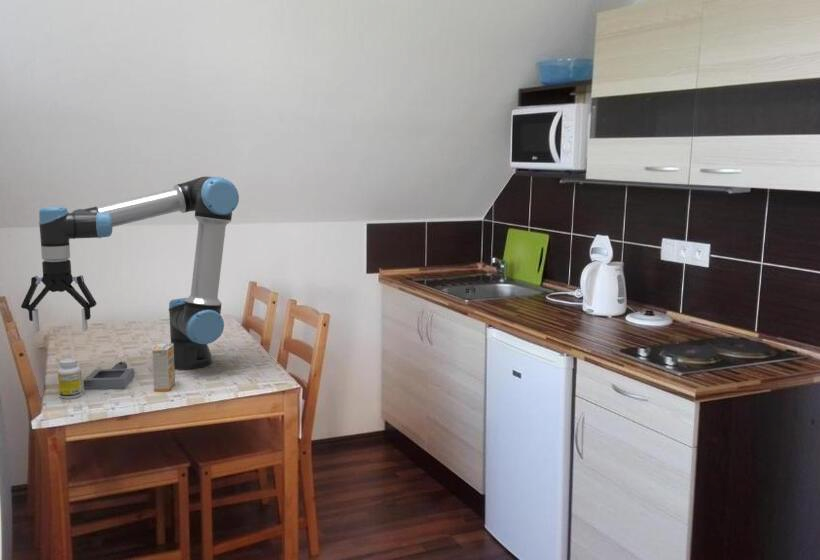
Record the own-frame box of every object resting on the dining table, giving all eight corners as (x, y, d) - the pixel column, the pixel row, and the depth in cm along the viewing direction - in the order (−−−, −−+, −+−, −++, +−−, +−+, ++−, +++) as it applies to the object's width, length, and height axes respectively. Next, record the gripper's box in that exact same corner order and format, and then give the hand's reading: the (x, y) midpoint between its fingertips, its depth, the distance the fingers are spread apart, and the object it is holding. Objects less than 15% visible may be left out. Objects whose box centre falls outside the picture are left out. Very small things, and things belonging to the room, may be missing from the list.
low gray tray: (125, 389, 230) (124, 379, 229) (84, 391, 228) (83, 380, 228) (141, 370, 251) (140, 360, 251) (103, 371, 250) (103, 361, 249)
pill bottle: (66, 392, 226) (64, 357, 224) (86, 393, 225) (84, 357, 223) (55, 399, 220) (52, 362, 218) (75, 399, 219) (73, 363, 217)
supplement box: (169, 391, 228) (167, 349, 225) (153, 391, 227) (151, 349, 225) (176, 383, 236) (174, 342, 234) (160, 383, 235) (158, 343, 233)
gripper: (104, 257, 223) (108, 327, 227) (15, 258, 219) (20, 329, 223) (98, 261, 216) (102, 332, 219) (5, 262, 212) (11, 335, 215)
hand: (61, 331), depth 221 cm, fingers open, 13 cm apart
